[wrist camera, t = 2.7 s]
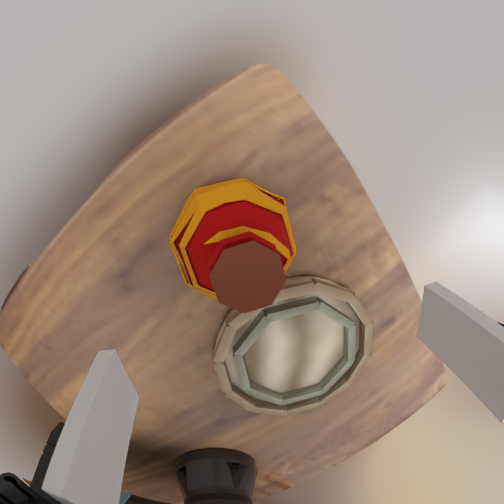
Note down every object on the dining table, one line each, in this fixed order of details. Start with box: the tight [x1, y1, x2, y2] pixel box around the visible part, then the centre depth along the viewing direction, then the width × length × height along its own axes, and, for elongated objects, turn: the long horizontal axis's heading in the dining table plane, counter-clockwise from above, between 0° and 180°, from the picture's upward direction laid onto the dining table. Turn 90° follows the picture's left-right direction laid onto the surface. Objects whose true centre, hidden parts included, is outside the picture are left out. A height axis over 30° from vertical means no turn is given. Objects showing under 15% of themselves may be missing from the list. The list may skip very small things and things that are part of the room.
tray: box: [213, 276, 373, 416], centre depth 33 cm, size 20×20×3 cm
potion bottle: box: [169, 177, 297, 313], centre depth 22 cm, size 10×10×15 cm
